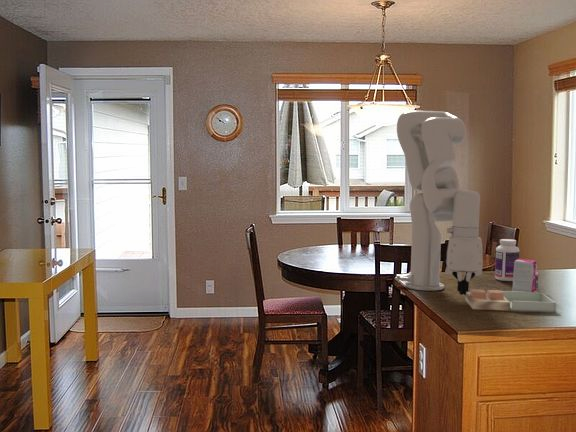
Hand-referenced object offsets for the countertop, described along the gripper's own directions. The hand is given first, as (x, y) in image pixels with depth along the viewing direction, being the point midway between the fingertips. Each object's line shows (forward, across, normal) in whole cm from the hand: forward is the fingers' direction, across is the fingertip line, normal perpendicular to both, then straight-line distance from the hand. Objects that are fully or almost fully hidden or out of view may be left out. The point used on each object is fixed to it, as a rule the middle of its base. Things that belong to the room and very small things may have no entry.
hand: (462, 293), depth 197 cm
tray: (+3, +19, 0) cm, 19 cm away
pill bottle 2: (+3, +25, +23) cm, 35 cm away
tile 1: (+1, +4, 0) cm, 5 cm away
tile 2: (+1, +10, 0) cm, 10 cm away
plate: (+3, +7, 0) cm, 8 cm away
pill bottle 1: (+3, +22, +42) cm, 48 cm away
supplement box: (+3, +21, +15) cm, 26 cm away
